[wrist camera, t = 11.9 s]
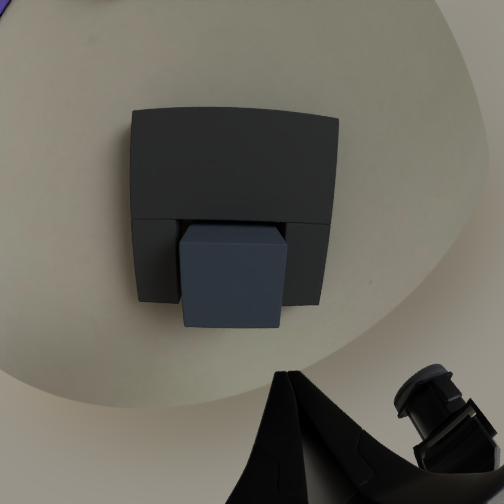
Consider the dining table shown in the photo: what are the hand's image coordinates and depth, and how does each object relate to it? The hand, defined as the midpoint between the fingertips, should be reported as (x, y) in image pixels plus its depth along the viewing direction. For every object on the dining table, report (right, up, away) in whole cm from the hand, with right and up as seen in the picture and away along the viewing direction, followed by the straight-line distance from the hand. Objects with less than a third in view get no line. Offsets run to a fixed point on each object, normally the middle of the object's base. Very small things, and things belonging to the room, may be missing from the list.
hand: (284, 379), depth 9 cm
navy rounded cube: (-2, +4, +10) cm, 11 cm away
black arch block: (-2, +7, +9) cm, 12 cm away
